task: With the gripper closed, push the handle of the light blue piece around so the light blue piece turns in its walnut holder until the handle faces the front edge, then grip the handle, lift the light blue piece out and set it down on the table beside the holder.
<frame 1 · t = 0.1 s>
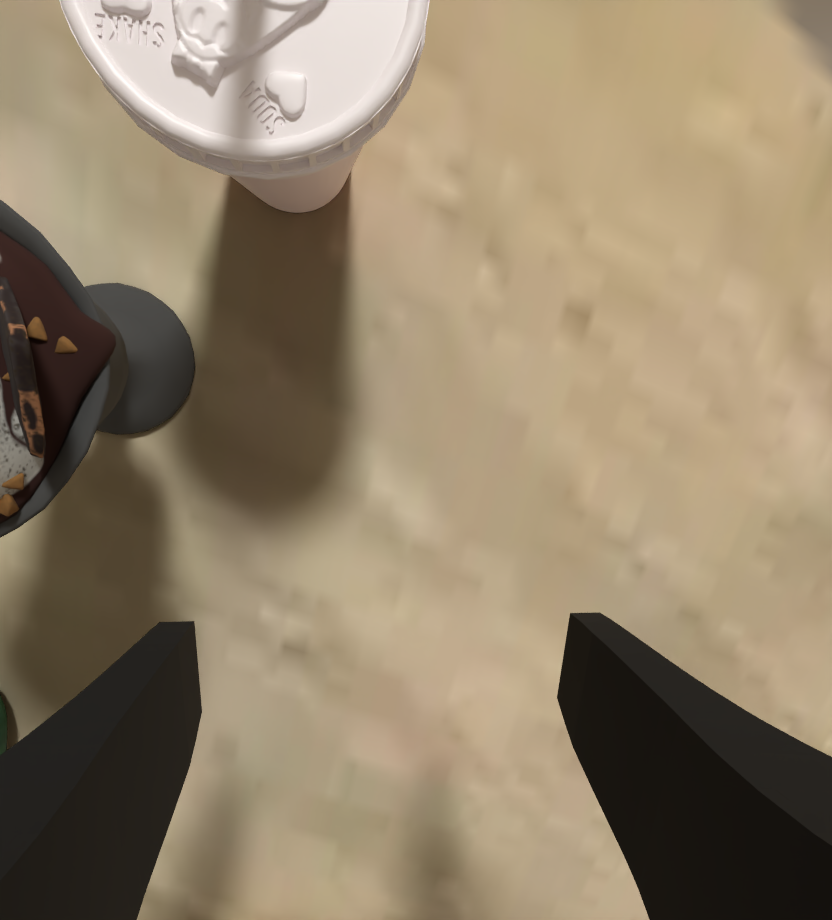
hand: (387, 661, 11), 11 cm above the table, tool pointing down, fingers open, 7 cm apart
sundae: (119, 361, 20), on the table
smoothie: (294, 155, 20), on the table
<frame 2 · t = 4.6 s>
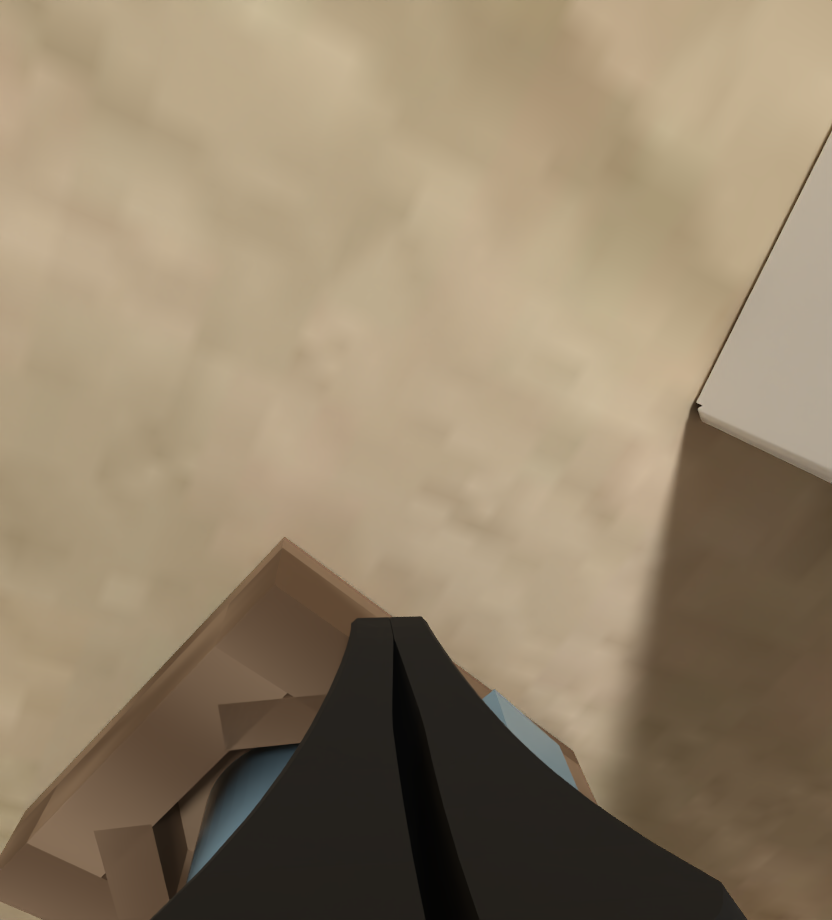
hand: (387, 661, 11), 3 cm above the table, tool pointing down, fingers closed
light blue piece: (309, 814, 15), resting on holder, touching gripper
holder: (311, 779, 16), on the table
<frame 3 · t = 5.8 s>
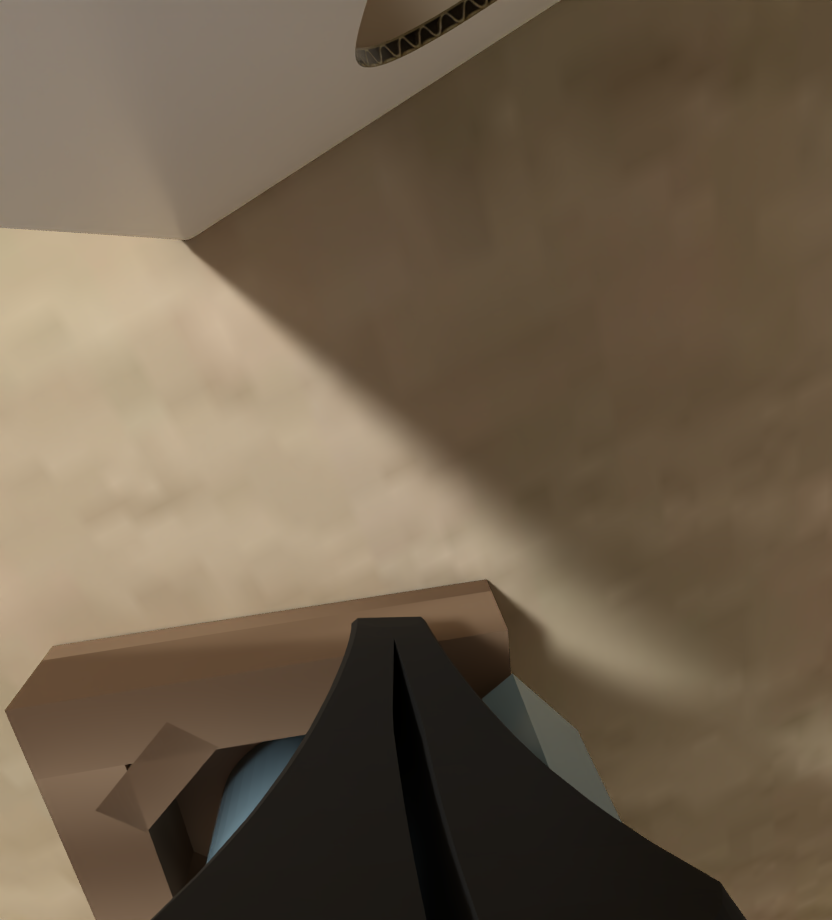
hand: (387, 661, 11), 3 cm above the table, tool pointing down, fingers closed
light blue piece: (325, 803, 15), resting on holder, touching gripper
holder: (310, 774, 15), on the table
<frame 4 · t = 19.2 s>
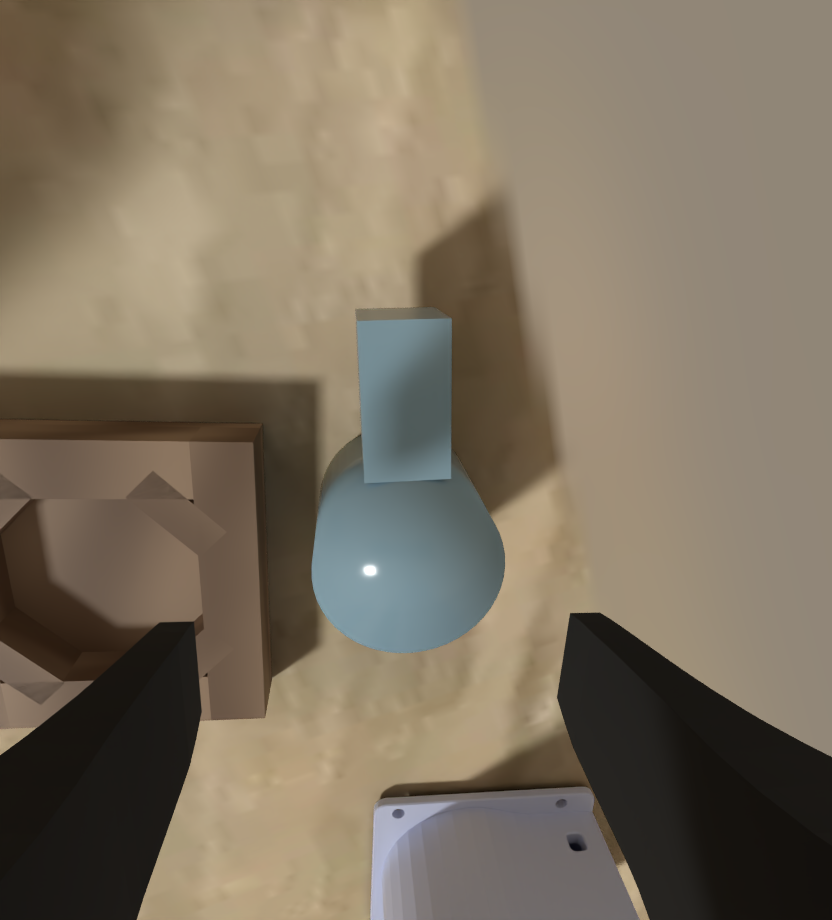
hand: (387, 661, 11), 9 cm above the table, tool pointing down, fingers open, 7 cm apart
light blue piece: (395, 498, 21), on the table
holder: (117, 562, 20), on the table
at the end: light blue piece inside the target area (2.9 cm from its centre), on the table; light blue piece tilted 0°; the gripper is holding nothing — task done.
